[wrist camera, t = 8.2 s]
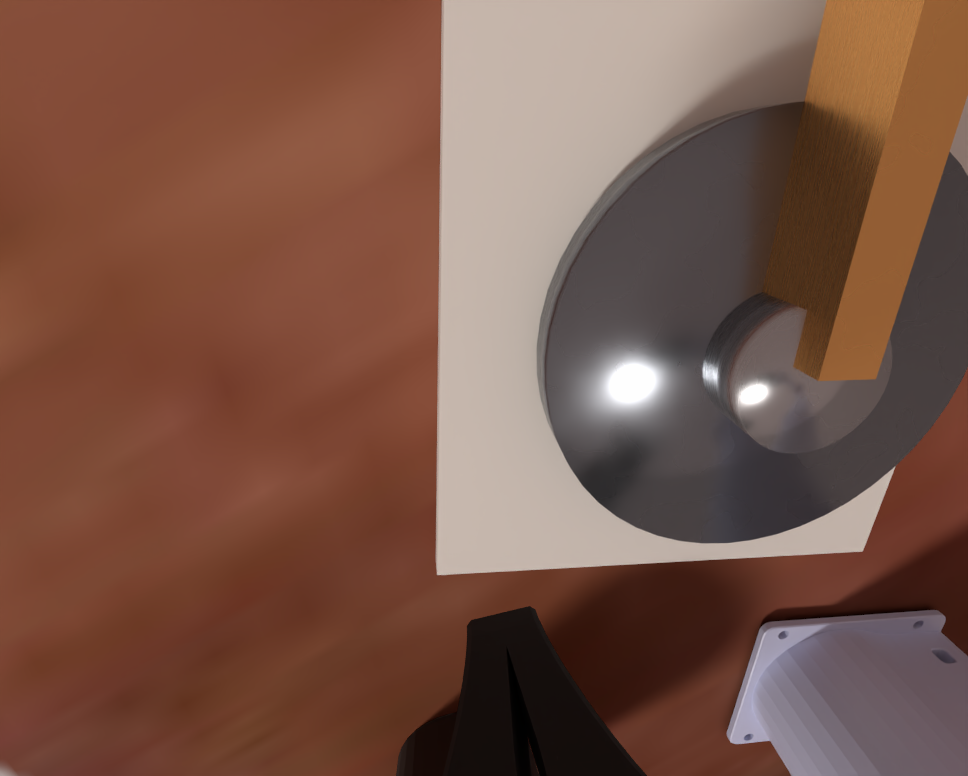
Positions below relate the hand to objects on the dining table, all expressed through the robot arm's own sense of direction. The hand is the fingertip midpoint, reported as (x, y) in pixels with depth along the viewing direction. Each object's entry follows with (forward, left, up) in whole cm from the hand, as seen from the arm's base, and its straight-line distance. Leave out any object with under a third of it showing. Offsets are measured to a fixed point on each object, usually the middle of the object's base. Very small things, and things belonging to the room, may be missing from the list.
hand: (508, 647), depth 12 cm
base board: (-8, -4, -9) cm, 13 cm away
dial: (-9, -6, -8) cm, 13 cm away
